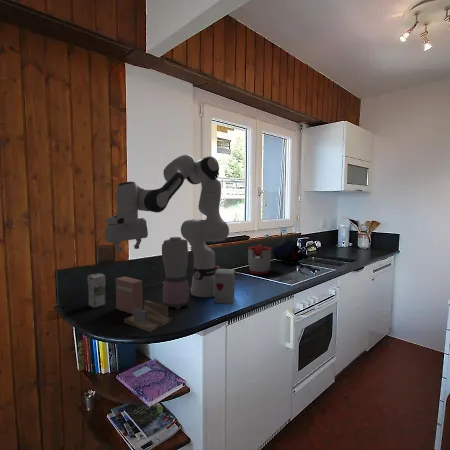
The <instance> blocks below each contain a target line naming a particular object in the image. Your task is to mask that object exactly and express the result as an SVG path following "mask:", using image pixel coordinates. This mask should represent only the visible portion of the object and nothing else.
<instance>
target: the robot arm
mask: <svg viewBox="0 0 450 450" xmlns="http://www.w3.org/2000/svg"><path fill="white" fill-rule="evenodd" d="M219 176H220V165H219V162H218V160H217V159H216V158H215V157H214V156H210V155H209V156H204V157H203V158H202V159H198V160H197V161H195V158H194V157H193V156H192V155H190V154H188V153H187V154H182V155H180V156H178V157H176V158H175V159H173V160H171V162H169V163H168V164H167V165H166V166H165V168H164V169H163V178H164V180H165V181H166V182H165V183H164V184H163V185H162V186H161V187H160V188H156V189H145V188H142V187H141V186H139V185H138V184H137V183H136V182H135V181H125V182H120V183H119V184H117V187H116V193H115V194H116V195H115V199H116V200H115V201H116V205H117V206H116V207H117V208H116V215H113V216H110V217H108V218H106V219H105V223H106V224H107V225H106V226H105V231H104V238H105V241H106V242H107V243H113V245H114V247H115V250H116V251H115V252H117V253H120V252H122V246H121V247H120V242H126V241H127V242H128V241H134V240H135V241H136V242H135V244H134V245H133V248H134V250H137V249H140V246H141V242H142V239H147V238H148V237H149V236H148V235H149V229H148V226H147V220H146V219H145V218H144V217H141V218H140V217H139V212H141V211H142V212H150V213H151V212H153V213H161V212H163V211H164V210H165V209H166V208H167V207H168V204H169V202H170V200H171V198H173V196H174V195H175V194H176V193H177V192H178V190H179V189H180V188H181V187H182V186H183V184H184V182H185V180H187V182H188V183H190V184H191V185H198V184H201V191H200V195H199V199H198V210H199V212H200V213H201V214H202V215H203V216H206V217H205V219H188V220H184V221H183V222H182V224H181V226H180V233H181V234H180V235H181V236H182V237H183V239H184V240H187V243H189V245H190V246H191V247H190V248H191V250H192V253H193V268H192V273H193V275H192V277H191V278H192V280H191V287H189V291H190V294H191V295H192V296H194V297H197V298H211V297H214V298H215V272H216V271H217V269H221V267H220V265H216V252H215V251H214V249H212V248H211V247H210V246H208V245H207V243H206V242H221V241H225V240H226V239H227V238H228V236H229V233H230V228H229V225H228V223H227V222H226V221H225V220H223V218H222V217H221V214H220V203H221V195H222V183H221V181H220V179H218V178H219Z"/></svg>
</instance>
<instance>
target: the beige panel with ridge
mask: <svg viewBox="0 0 450 450" xmlns="http://www.w3.org/2000/svg"><path fill="white" fill-rule="evenodd" d="M143 302H144V303H143V310H145V311H147V318H148V324H146V325H145V324H142V323H139V322H137V321H134V320H133V315H131V316H129V317H126V318H124V319H123V321H124V322H123V323H125V324H127V325H129V326H131V327H135V328H137V329H140V330H142V329H143V331H145V330H146V331H145V332H148V331H149V332H148V333H151V332H153V331H152V330H154V331H156V330H157V328H158V329H160V328H162V327H164V326H166V325H167V323H168V324H170V323H172V322H173V317H170V316H169V306H165V305H163V304H160V303H157V302H154V301H151V300H148V299H146V300H143ZM171 321H172V322H171ZM169 322H170V323H169ZM165 324H166V325H165ZM163 325H164V326H163ZM161 326H162V327H161ZM159 327H160V328H159ZM155 329H156V330H155ZM150 331H151V332H150Z"/></svg>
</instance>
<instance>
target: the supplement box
mask: <svg viewBox="0 0 450 450" xmlns="http://www.w3.org/2000/svg"><path fill="white" fill-rule="evenodd" d="M235 278H236V269H235V268H233V269H229V268H220V269H217V271H216V272H215V297H214V304H228V305H233V303H234V300H235V280H236V279H235Z"/></svg>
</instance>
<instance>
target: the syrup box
mask: <svg viewBox="0 0 450 450" xmlns="http://www.w3.org/2000/svg"><path fill="white" fill-rule="evenodd" d="M106 299H107V298H106V275H105V274H103V273H94V274H89V275H87V300H88V301H87V304H88V306H89V307H91V308H95V309H96V308H99V307H102V306H106V301H107V300H106Z"/></svg>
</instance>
